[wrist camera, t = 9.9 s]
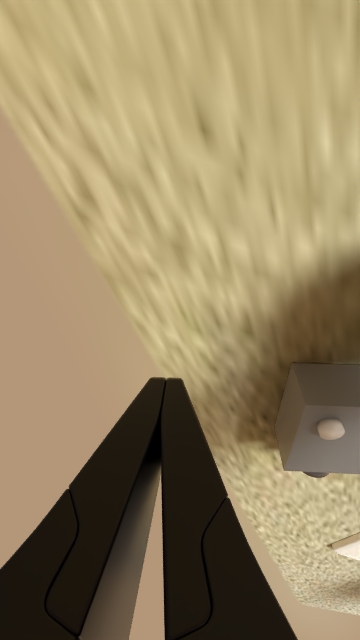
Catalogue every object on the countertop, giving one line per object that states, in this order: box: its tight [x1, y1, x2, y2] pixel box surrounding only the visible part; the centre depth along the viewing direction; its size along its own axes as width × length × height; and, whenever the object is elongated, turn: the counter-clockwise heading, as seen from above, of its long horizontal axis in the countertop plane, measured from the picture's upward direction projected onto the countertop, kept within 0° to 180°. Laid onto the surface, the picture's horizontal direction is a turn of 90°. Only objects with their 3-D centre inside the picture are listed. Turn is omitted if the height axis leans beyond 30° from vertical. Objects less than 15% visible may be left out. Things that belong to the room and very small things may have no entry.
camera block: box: [274, 363, 360, 478], centre depth 24 cm, size 10×9×5 cm
